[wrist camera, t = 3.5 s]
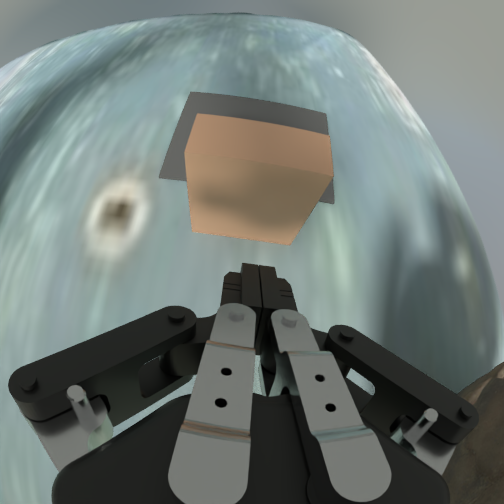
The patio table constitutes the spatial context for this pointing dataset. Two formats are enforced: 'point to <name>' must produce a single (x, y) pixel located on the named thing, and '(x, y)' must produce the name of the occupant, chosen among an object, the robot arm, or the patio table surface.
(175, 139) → the charcoal mat
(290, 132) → the peach block
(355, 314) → the patio table surface
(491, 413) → the clay pot
